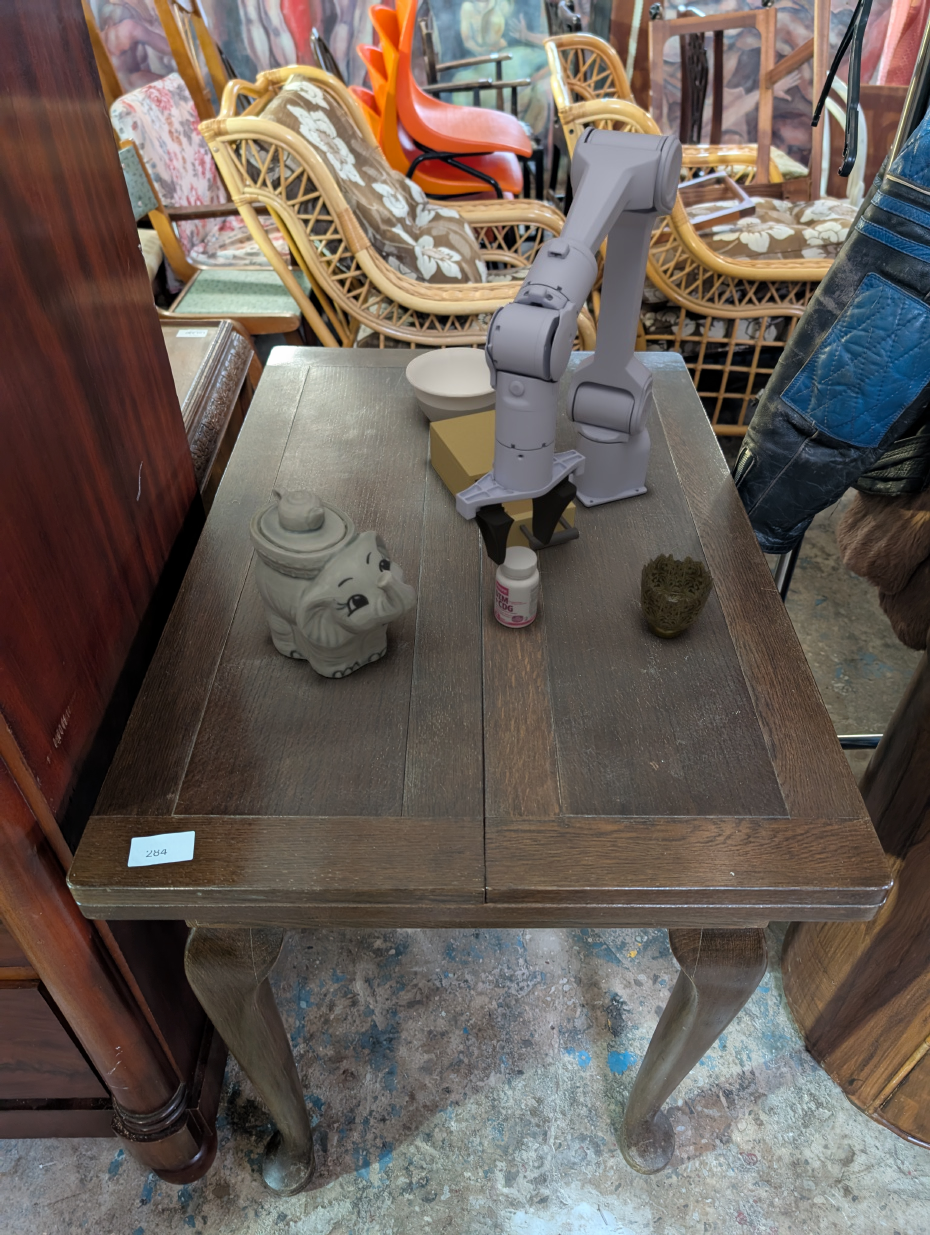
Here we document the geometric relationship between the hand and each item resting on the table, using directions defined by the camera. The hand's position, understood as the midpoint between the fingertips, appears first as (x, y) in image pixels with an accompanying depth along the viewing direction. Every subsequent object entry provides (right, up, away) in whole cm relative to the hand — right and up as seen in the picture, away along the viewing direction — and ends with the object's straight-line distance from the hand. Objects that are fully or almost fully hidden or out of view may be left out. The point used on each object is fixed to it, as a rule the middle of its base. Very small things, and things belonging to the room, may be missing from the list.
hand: (518, 549), depth 84 cm
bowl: (-7, +23, +39) cm, 46 cm away
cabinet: (-3, +12, +27) cm, 29 cm away
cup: (+17, -9, +5) cm, 19 cm away
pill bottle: (0, -7, +7) cm, 10 cm away
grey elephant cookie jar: (-19, -11, +2) cm, 22 cm away
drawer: (+2, +4, +17) cm, 18 cm away
